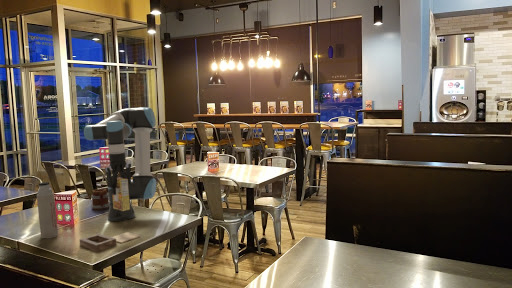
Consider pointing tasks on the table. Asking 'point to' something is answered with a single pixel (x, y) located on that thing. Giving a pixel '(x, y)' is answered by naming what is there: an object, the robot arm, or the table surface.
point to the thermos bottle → (47, 211)
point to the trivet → (125, 237)
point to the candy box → (122, 195)
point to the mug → (100, 199)
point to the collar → (104, 241)
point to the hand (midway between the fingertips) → (121, 199)
